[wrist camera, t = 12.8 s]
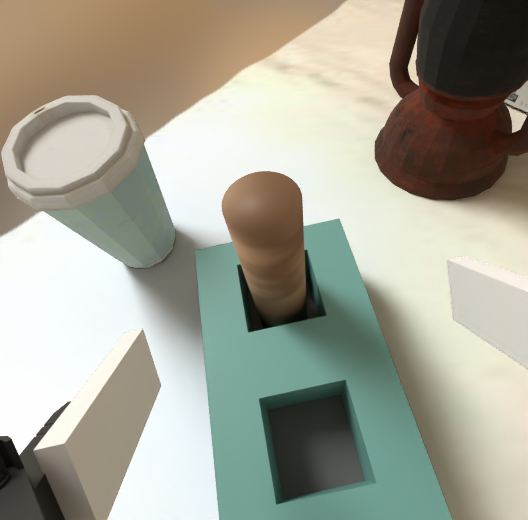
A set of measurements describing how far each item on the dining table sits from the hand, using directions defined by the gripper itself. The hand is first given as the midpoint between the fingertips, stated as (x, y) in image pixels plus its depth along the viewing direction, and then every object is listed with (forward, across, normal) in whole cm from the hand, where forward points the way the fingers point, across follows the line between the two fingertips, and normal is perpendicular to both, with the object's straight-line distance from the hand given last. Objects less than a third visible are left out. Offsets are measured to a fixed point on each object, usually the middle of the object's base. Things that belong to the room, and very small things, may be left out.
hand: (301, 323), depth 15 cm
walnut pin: (+14, 0, -6) cm, 15 cm away
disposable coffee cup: (+25, -13, +2) cm, 28 cm away
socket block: (+12, 0, -10) cm, 16 cm away
